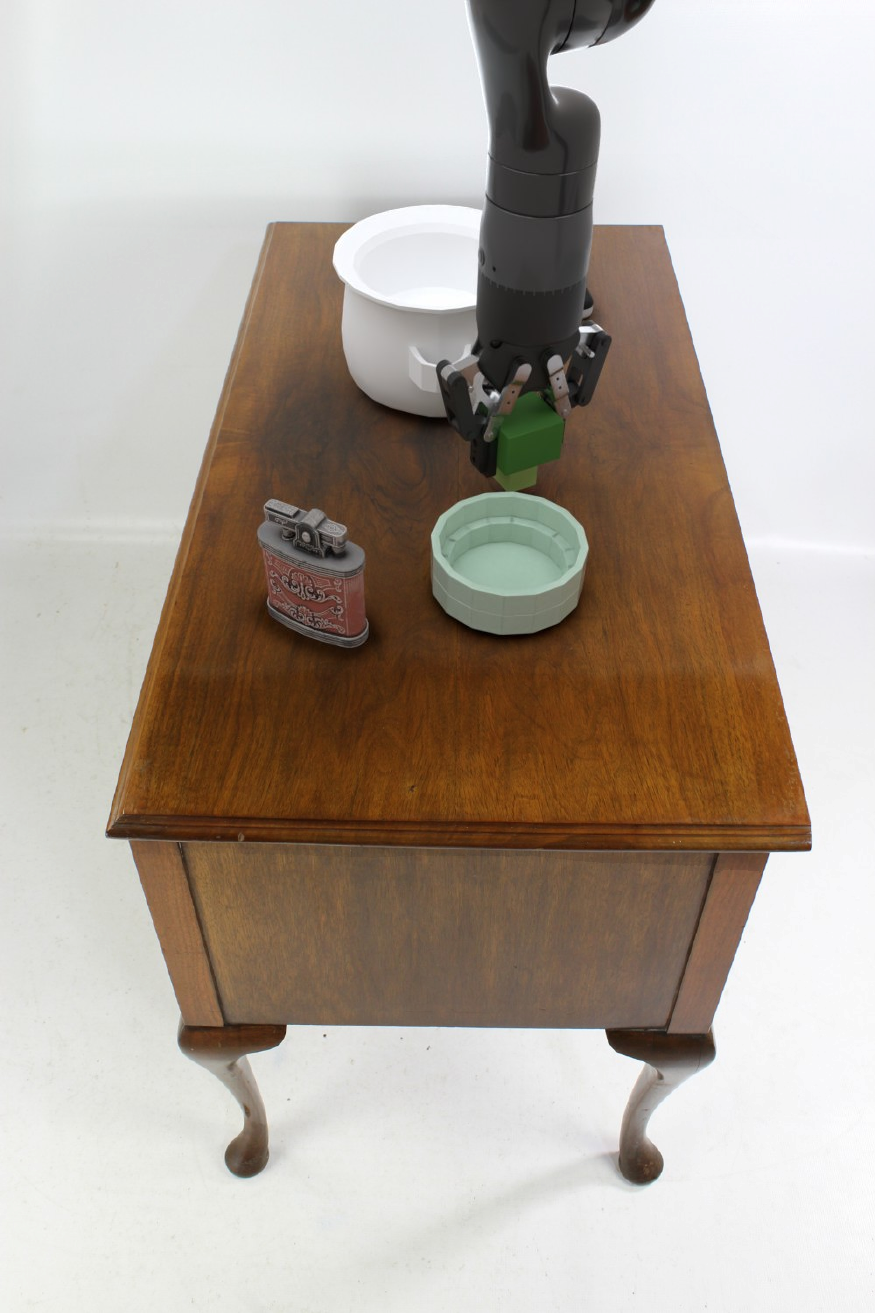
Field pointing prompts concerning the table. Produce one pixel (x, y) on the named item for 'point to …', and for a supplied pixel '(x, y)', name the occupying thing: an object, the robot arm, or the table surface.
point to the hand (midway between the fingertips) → (516, 461)
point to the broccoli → (527, 442)
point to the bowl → (508, 562)
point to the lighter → (313, 575)
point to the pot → (409, 301)
